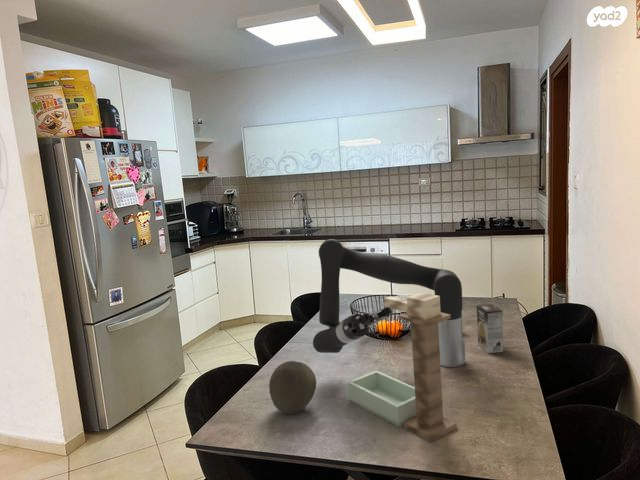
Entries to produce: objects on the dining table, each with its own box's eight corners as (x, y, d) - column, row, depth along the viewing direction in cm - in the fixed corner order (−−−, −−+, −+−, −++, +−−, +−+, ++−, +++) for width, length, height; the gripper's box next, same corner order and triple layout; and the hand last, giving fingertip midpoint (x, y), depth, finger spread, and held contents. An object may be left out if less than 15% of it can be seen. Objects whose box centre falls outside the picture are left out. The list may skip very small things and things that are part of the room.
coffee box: (477, 345, 186) (475, 304, 184) (493, 343, 187) (492, 303, 184) (487, 353, 177) (486, 311, 175) (504, 351, 178) (503, 309, 175)
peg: (379, 307, 136) (378, 290, 135) (395, 303, 139) (394, 286, 139) (424, 319, 122) (423, 300, 121) (440, 314, 125) (439, 295, 125)
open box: (349, 400, 150) (347, 382, 149) (377, 387, 157) (376, 370, 156) (398, 427, 132) (397, 407, 131) (428, 412, 139) (427, 392, 138)
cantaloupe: (300, 425, 137) (296, 376, 135) (262, 416, 145) (257, 369, 143) (326, 403, 149) (322, 358, 147) (289, 395, 156) (285, 352, 154)
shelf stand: (404, 427, 132) (397, 315, 127) (428, 414, 138) (423, 307, 133) (431, 442, 124) (425, 323, 119) (456, 428, 129) (451, 314, 125)
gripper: (329, 323, 151) (355, 306, 138) (364, 312, 159) (392, 295, 146) (338, 345, 149) (366, 330, 136) (373, 333, 157) (402, 318, 144)
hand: (379, 312), depth 141 cm, fingers open, 8 cm apart
